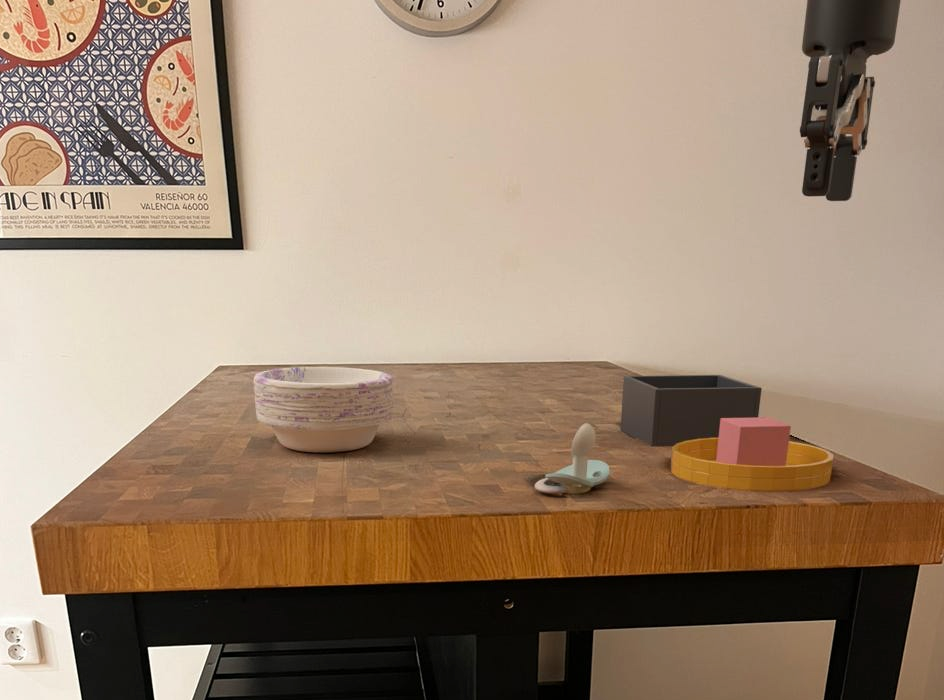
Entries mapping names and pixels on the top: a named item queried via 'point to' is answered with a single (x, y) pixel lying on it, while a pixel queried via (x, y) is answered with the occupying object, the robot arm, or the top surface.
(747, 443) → the toy cube
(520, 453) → the top surface
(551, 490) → the pacifier
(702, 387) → the grey bin
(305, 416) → the paper bowls
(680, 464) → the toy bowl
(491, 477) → the top surface
